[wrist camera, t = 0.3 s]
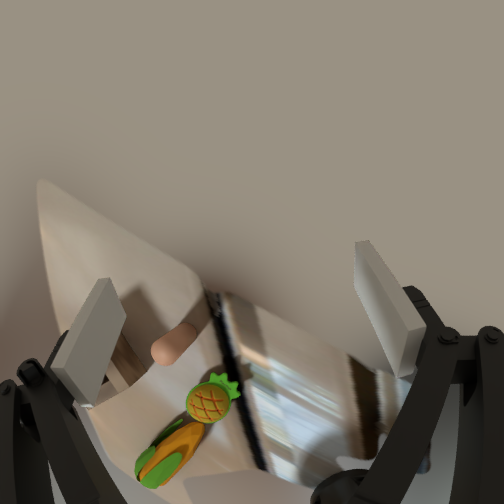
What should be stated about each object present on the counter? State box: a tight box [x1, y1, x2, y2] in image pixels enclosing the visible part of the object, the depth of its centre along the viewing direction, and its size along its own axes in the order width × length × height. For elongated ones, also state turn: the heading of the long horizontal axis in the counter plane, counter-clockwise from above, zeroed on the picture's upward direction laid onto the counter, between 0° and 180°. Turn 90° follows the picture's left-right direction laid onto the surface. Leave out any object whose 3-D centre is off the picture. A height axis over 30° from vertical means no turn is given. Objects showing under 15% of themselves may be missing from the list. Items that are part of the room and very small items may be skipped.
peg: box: [151, 323, 197, 366], centre depth 44 cm, size 4×4×12 cm
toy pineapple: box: [186, 372, 241, 423], centre depth 47 cm, size 7×10×5 cm
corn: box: [134, 419, 205, 489], centre depth 46 cm, size 7×8×20 cm
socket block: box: [86, 332, 147, 410], centre depth 46 cm, size 10×10×8 cm
